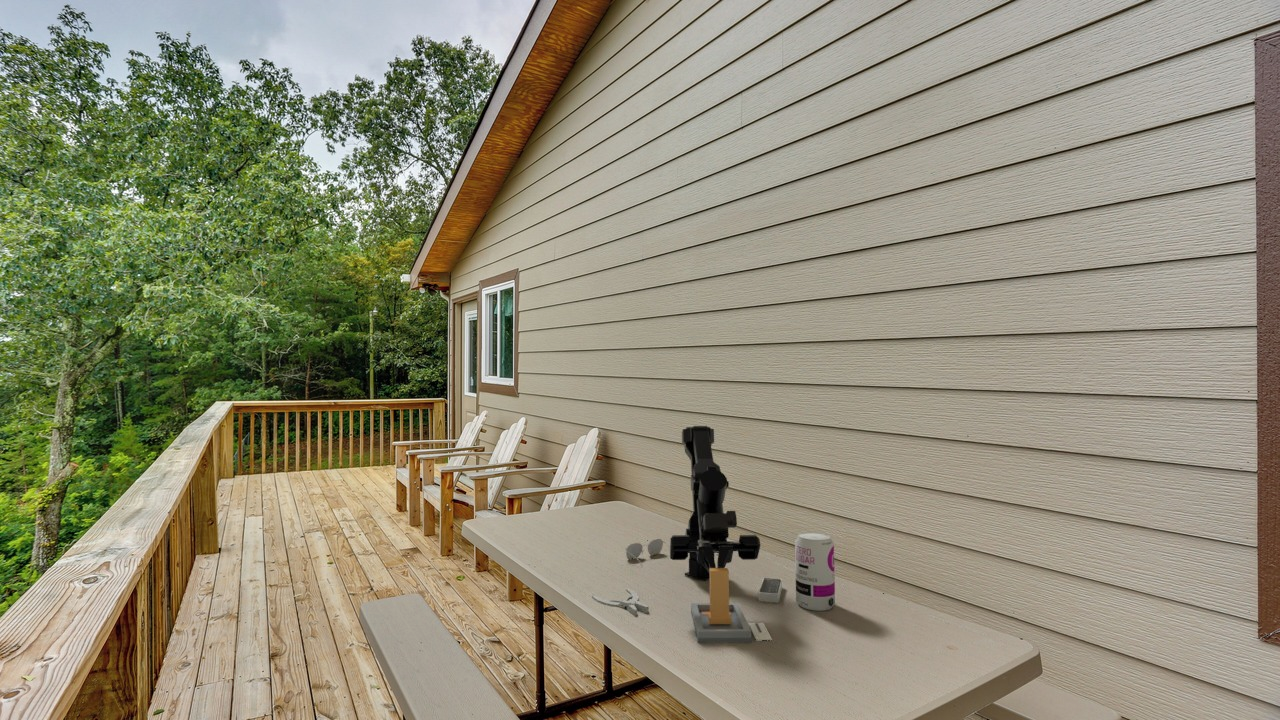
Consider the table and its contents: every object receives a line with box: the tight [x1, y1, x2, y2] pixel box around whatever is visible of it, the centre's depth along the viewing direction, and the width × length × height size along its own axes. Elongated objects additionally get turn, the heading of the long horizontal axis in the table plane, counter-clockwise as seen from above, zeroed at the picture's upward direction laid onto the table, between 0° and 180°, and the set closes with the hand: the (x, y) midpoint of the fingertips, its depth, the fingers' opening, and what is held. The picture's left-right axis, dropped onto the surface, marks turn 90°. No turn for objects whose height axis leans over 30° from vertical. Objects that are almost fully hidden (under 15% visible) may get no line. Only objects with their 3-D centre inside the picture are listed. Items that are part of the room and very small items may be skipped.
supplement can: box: [794, 531, 836, 612], centre depth 134 cm, size 8×8×15 cm
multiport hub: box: [758, 577, 783, 604], centre depth 141 cm, size 4×11×2 cm, turn 163°
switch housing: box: [690, 602, 773, 643], centre depth 122 cm, size 15×14×2 cm
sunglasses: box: [624, 538, 670, 567], centre depth 169 cm, size 14×8×5 cm, turn 126°
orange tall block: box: [708, 567, 732, 624], centre depth 122 cm, size 3×4×10 cm
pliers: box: [591, 588, 649, 616], centre depth 135 cm, size 10×2×15 cm
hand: (718, 584), depth 123 cm, fingers closed, pressing on orange tall block
